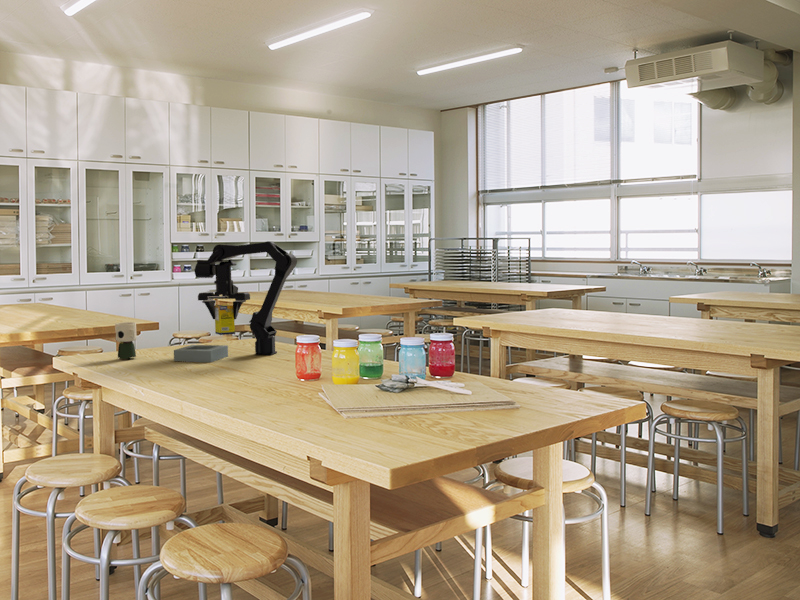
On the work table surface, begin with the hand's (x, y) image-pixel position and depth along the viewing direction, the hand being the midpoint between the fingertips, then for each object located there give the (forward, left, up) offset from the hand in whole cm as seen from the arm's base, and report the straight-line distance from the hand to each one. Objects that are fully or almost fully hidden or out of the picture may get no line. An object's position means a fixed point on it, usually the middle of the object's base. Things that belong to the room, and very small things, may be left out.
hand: (224, 319), depth 267 cm
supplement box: (0, 0, -6) cm, 6 cm away
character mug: (+30, +18, -13) cm, 37 cm away
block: (+3, +14, -13) cm, 19 cm away
